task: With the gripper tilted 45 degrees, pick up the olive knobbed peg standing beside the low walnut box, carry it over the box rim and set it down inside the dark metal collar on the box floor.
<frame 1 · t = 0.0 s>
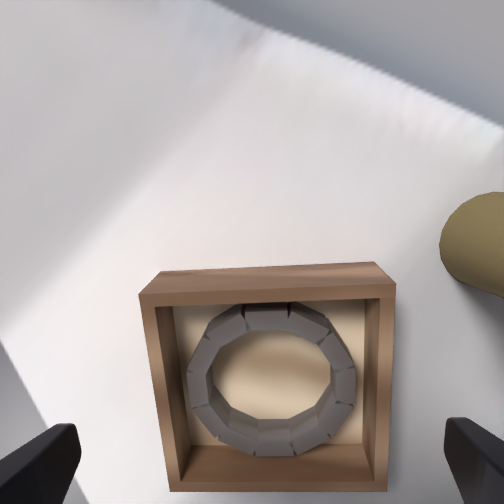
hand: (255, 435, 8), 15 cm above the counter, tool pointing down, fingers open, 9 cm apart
socket box: (270, 361, 24), on the counter
olive knobbed peg: (487, 240, 22), on the counter
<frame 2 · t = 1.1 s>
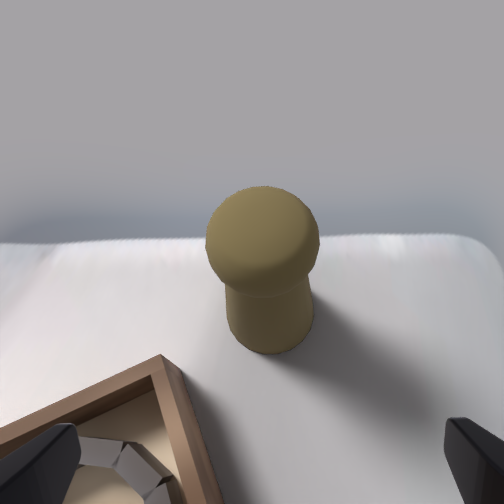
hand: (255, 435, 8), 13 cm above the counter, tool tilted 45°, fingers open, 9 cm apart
olive knobbed peg: (269, 311, 24), on the counter
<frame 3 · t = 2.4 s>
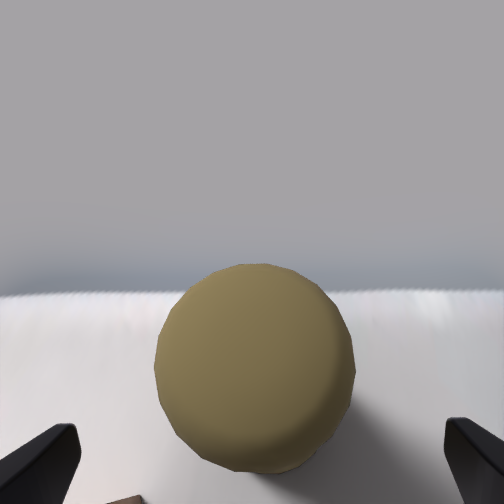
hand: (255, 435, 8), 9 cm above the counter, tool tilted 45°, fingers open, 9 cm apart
olive knobbed peg: (268, 403, 17), on the counter
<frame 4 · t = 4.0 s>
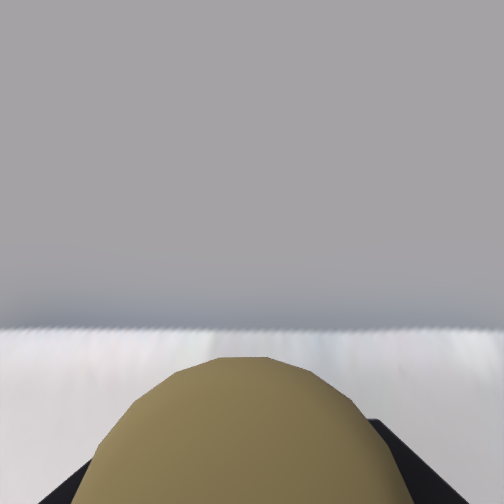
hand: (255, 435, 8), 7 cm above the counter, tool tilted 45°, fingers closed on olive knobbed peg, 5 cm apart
olive knobbed peg: (268, 482, 13), on the counter, touching gripper
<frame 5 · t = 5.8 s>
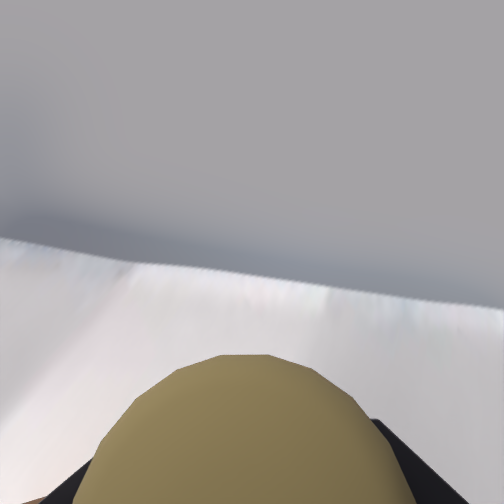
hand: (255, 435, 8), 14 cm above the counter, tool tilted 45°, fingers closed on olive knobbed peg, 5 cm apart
olive knobbed peg: (269, 480, 14), point 7 cm above the counter, touching gripper
when the fingers open (8 cm above the counter, at t = 8.0 s): olive knobbed peg stays where it is, resting on socket box.
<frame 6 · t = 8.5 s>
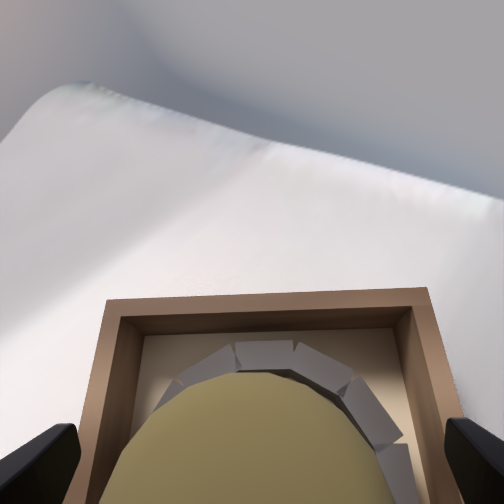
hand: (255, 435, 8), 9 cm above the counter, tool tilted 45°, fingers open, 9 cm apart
socket box: (270, 478, 15), on the counter
olive knobbed peg: (268, 482, 14), point 1 cm above the counter, touching socket box
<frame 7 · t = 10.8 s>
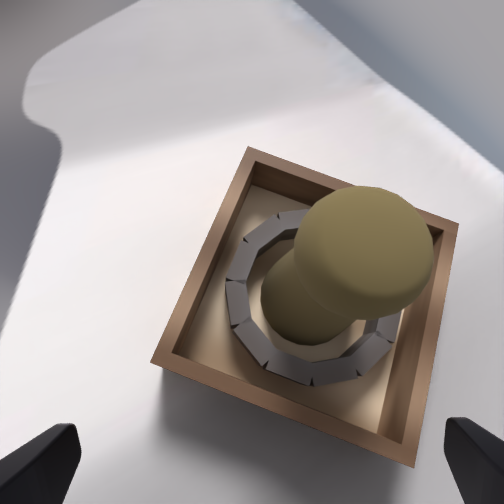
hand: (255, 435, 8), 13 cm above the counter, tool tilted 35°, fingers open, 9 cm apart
socket box: (304, 299, 23), on the counter
olive knobbed peg: (306, 298, 22), point 1 cm above the counter, touching socket box
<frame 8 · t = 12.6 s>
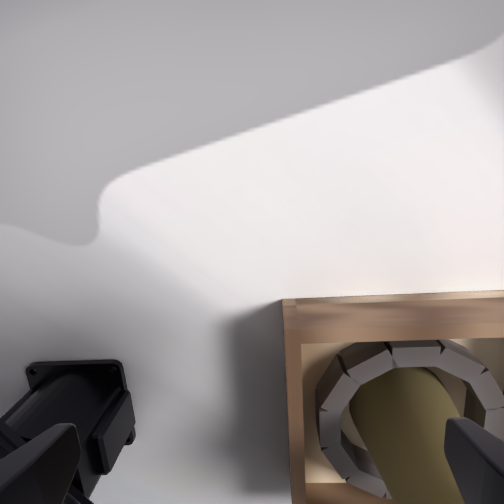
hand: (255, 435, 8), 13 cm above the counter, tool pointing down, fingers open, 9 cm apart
socket box: (393, 393, 23), on the counter
olive knobbed peg: (396, 401, 22), point 1 cm above the counter, touching socket box
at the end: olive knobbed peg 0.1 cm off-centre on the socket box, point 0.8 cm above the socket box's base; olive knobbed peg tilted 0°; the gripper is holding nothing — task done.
